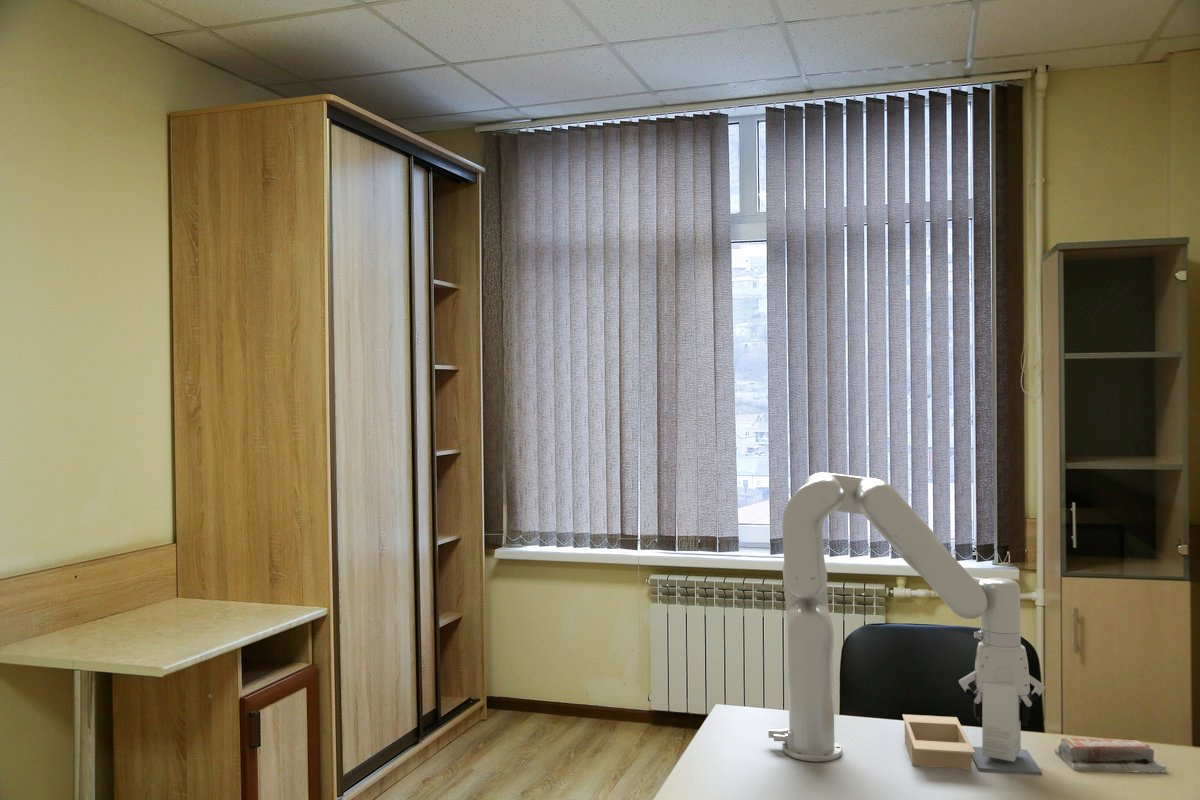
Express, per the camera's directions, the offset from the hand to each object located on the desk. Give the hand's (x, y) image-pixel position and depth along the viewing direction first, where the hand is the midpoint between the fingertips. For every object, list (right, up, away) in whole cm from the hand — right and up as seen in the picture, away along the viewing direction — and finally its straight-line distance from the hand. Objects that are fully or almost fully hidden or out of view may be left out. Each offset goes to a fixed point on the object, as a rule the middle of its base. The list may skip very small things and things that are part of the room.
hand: (1001, 721), depth 190 cm
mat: (0, -8, 0) cm, 8 cm away
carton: (-12, -8, +4) cm, 15 cm away
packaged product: (+22, -9, -1) cm, 23 cm away
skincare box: (0, -7, 0) cm, 7 cm away
